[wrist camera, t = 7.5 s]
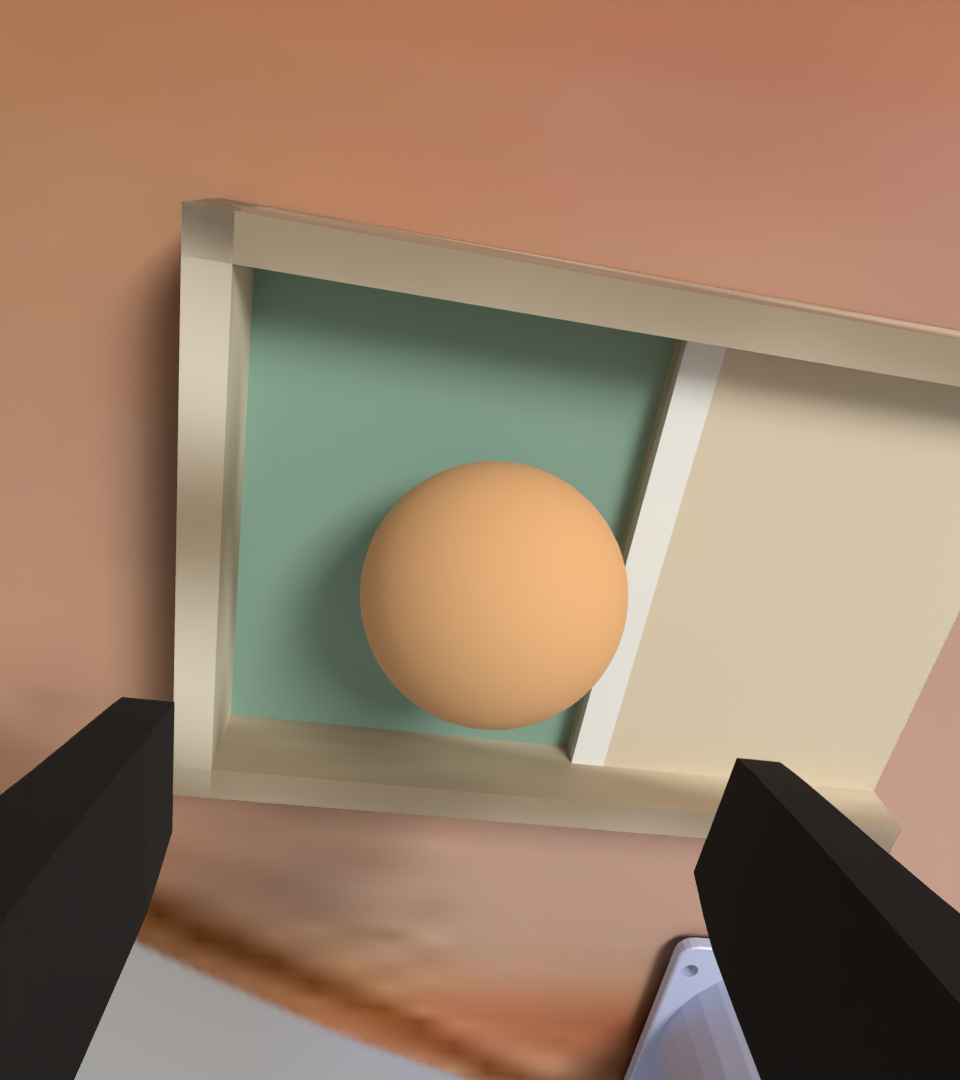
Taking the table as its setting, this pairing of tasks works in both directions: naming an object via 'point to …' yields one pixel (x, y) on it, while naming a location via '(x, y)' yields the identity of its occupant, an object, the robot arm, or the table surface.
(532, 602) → the ball
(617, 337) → the lane
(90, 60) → the table surface
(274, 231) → the rails
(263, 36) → the table surface
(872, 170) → the table surface
